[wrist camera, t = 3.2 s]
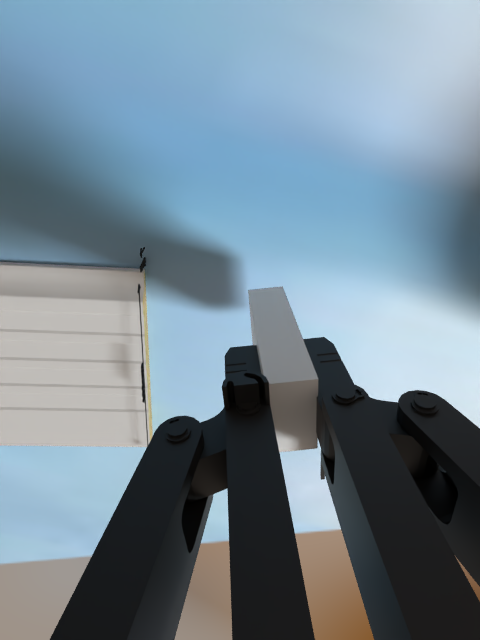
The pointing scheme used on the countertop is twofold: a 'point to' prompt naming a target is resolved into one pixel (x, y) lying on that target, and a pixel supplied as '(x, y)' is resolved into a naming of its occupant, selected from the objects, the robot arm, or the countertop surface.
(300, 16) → the countertop surface
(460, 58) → the countertop surface
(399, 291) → the countertop surface
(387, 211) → the countertop surface
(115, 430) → the baseboard
